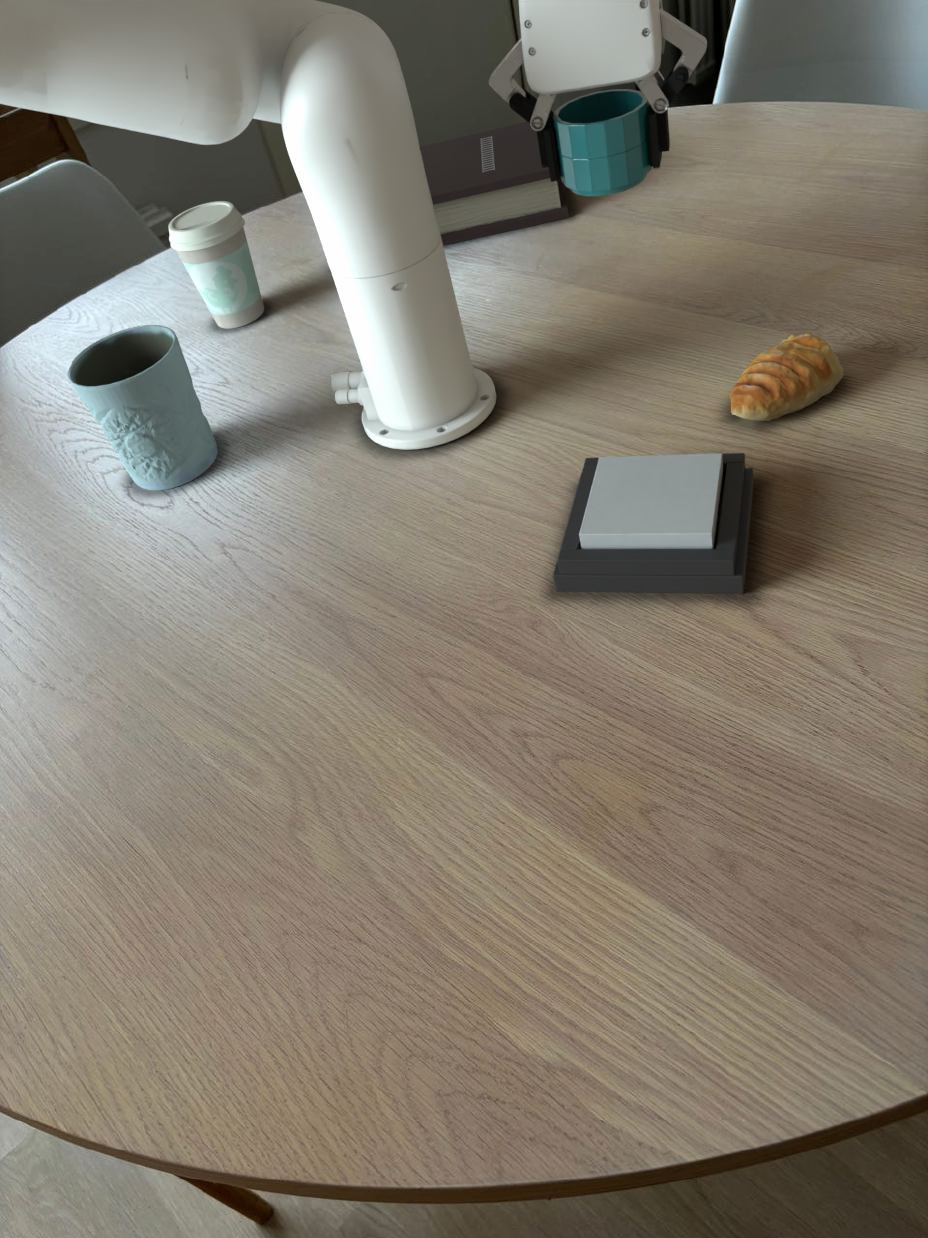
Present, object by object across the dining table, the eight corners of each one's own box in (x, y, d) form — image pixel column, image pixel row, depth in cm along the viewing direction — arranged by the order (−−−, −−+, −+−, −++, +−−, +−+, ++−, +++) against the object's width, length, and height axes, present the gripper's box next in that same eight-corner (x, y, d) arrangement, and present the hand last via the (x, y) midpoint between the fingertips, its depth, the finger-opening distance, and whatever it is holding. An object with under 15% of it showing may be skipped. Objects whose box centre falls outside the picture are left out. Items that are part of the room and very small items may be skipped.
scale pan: (581, 551, 71) (578, 534, 70) (601, 473, 77) (599, 456, 76) (713, 551, 68) (712, 533, 67) (723, 470, 74) (722, 452, 73)
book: (556, 157, 132) (549, 110, 128) (569, 217, 118) (561, 166, 114) (350, 205, 136) (337, 160, 132) (338, 268, 122) (323, 220, 118)
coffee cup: (192, 335, 117) (148, 235, 109) (229, 298, 123) (190, 200, 115) (252, 335, 114) (211, 232, 106) (288, 297, 119) (252, 196, 111)
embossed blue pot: (192, 423, 102) (141, 315, 94) (247, 451, 96) (197, 337, 88) (107, 477, 98) (46, 369, 90) (159, 510, 92) (99, 396, 84)
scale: (555, 591, 72) (549, 560, 70) (583, 488, 80) (578, 457, 78) (743, 594, 68) (742, 561, 66) (753, 484, 76) (752, 451, 74)
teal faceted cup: (557, 203, 80) (547, 130, 76) (569, 167, 85) (560, 97, 81) (649, 192, 78) (643, 116, 74) (656, 156, 83) (651, 83, 79)
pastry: (774, 438, 80) (773, 396, 77) (708, 413, 84) (705, 372, 82) (849, 381, 83) (851, 340, 80) (782, 360, 87) (781, 320, 85)
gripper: (711, -134, 69) (720, 135, 81) (466, -82, 74) (509, 163, 86) (706, -111, 64) (717, 172, 76) (444, -57, 69) (492, 201, 81)
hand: (606, 166), depth 81 cm, fingers closed on teal faceted cup, 7 cm apart
